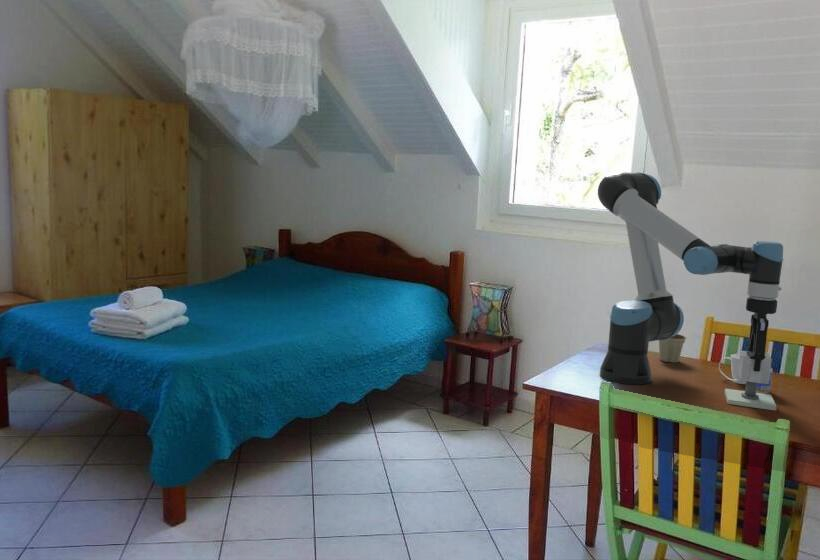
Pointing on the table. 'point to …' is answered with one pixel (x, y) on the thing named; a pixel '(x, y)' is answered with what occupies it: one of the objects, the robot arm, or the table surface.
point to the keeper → (750, 397)
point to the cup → (733, 368)
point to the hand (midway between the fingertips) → (752, 378)
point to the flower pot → (671, 348)
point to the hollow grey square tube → (746, 365)
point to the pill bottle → (764, 385)
